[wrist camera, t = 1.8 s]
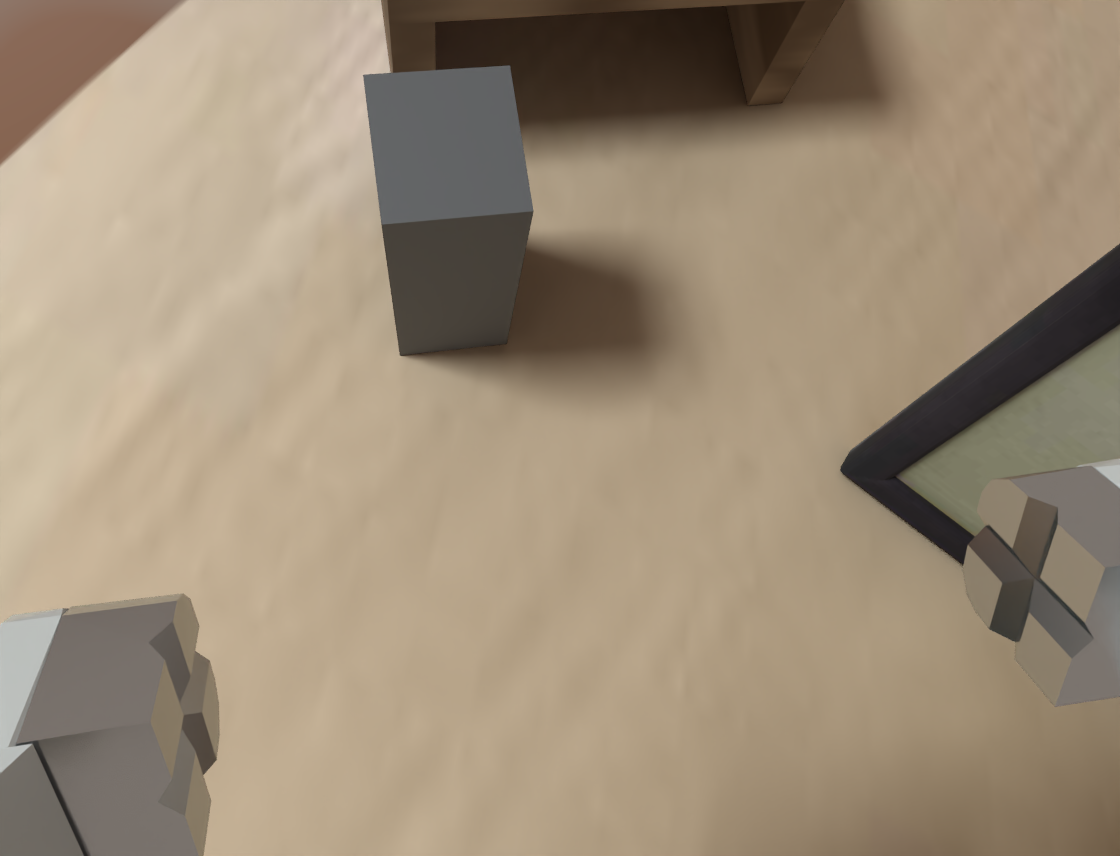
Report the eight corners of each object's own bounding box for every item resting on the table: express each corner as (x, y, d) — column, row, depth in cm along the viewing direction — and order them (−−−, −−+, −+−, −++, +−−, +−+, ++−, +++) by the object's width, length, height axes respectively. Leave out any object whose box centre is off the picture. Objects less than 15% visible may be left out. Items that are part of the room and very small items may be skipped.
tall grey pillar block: (489, 232, 37) (509, 59, 26) (506, 343, 36) (533, 211, 25) (385, 241, 36) (362, 68, 26) (399, 355, 35) (381, 224, 24)
